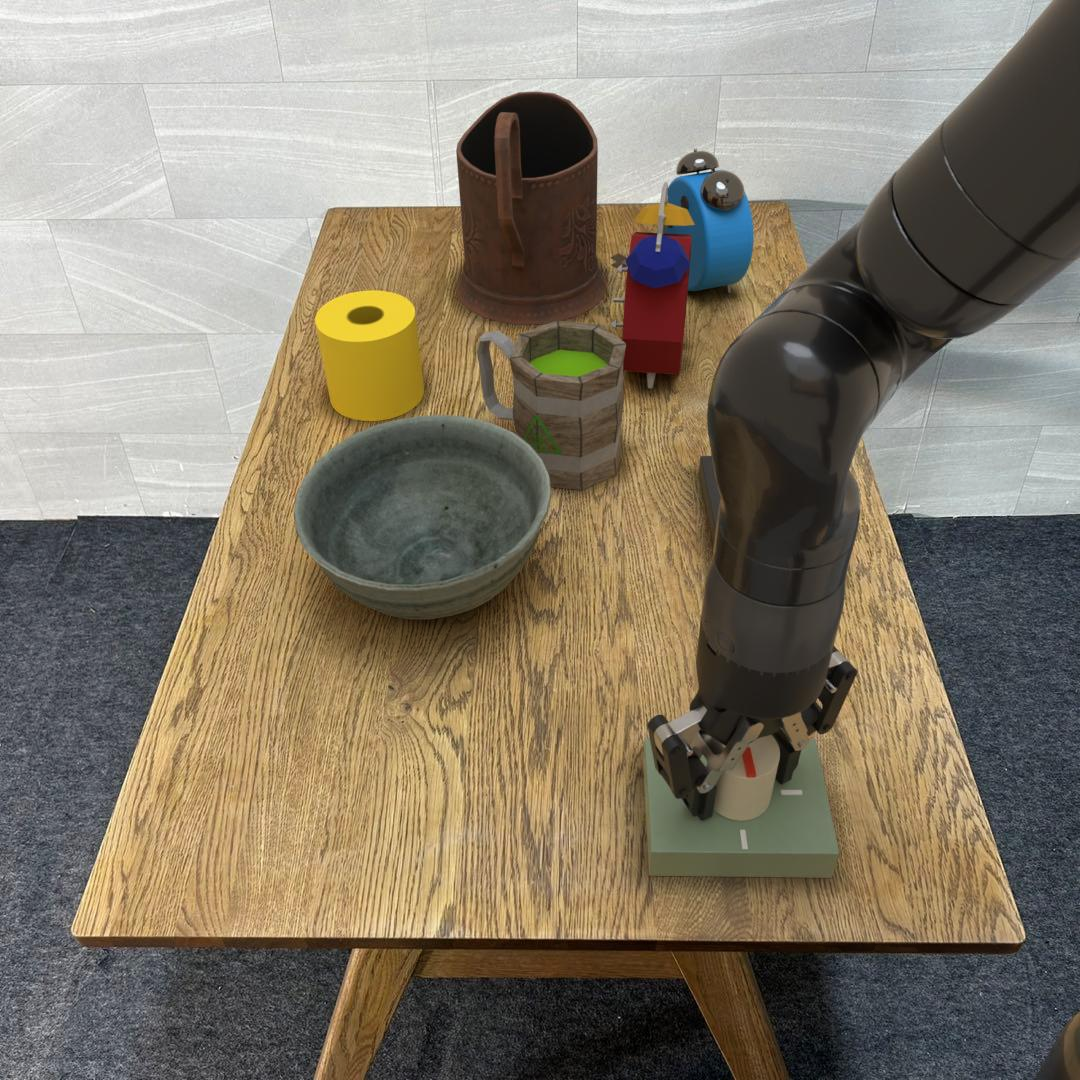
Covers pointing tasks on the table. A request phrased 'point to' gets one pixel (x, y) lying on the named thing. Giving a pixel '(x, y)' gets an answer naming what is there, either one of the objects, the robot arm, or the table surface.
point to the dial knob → (749, 781)
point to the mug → (563, 397)
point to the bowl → (424, 514)
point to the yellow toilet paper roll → (370, 354)
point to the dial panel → (744, 829)
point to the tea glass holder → (529, 211)
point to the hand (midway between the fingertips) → (737, 790)
